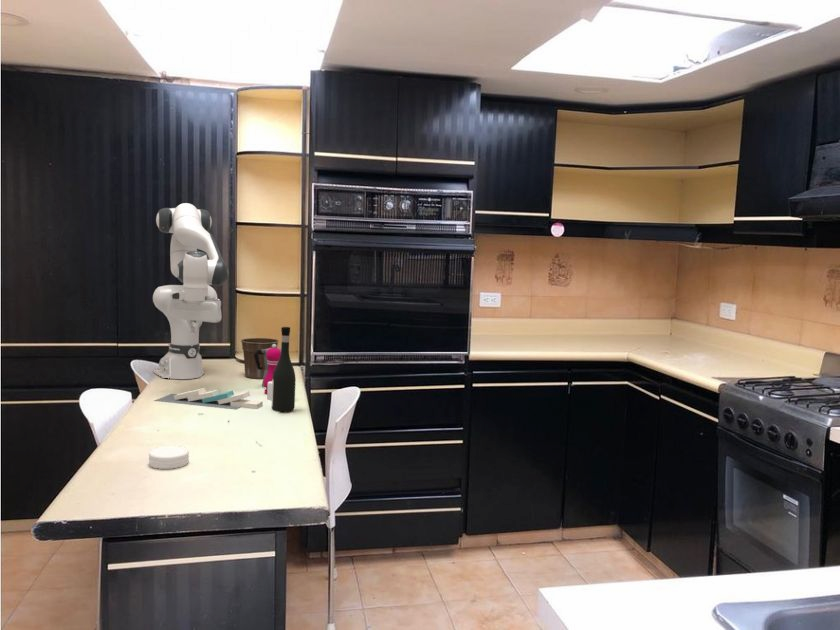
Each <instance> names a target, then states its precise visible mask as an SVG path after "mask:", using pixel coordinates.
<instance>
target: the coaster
mask: <svg viewBox="0 0 840 630" xmlns="http://www.w3.org/2000/svg"><path fill="white" fill-rule="evenodd" d="M189 455H190V450H189V449H187V448H185V447H182V446H177V445H167V446H160V447H156V448H154V449H152V450H150V451H149V452H148V465H149V467H151V468H153V469H156V468H159V469H158V470H173V468H175V469H179V468H182V466H183V467H185V466H187V465H188V464H189V462H190V461H189V460H190V459H189V457H190V456H189ZM187 463H188V464H187ZM184 465H185V466H184ZM178 467H179V468H178Z"/></svg>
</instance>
